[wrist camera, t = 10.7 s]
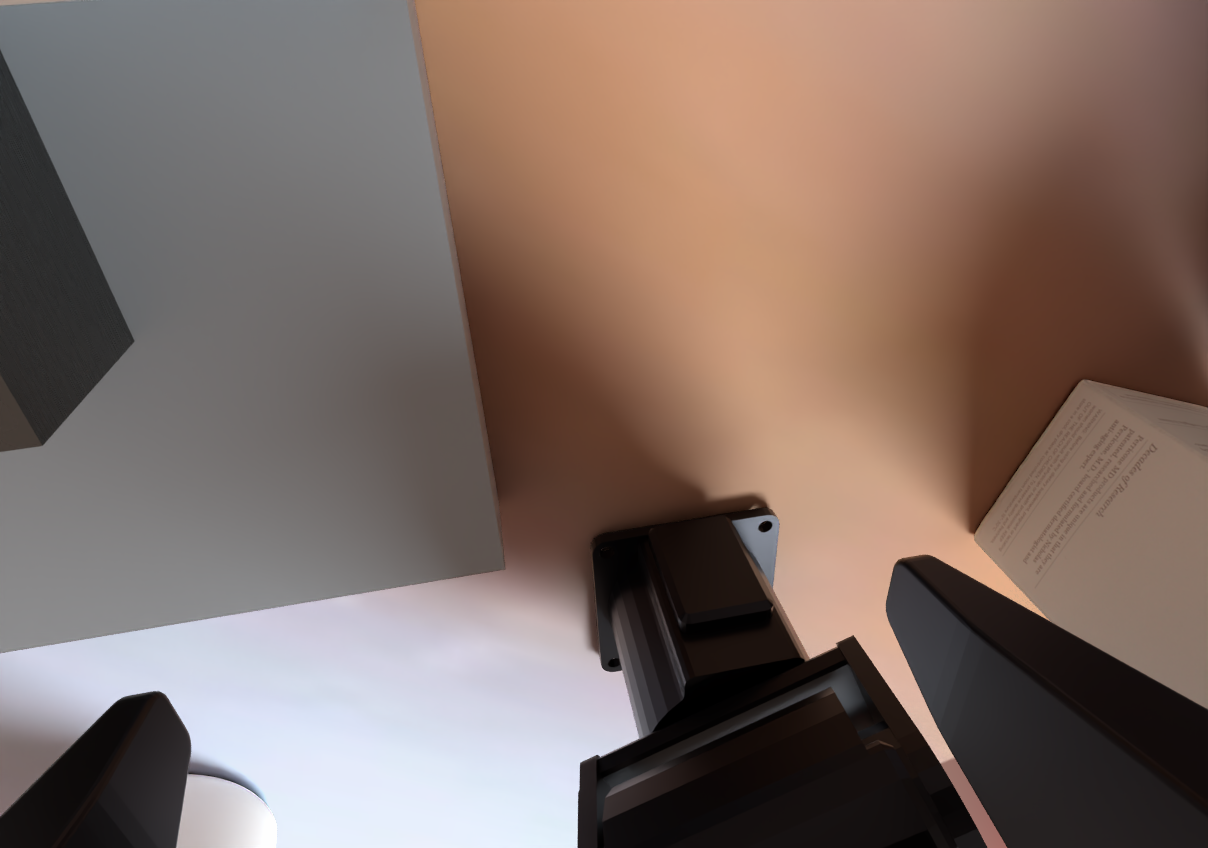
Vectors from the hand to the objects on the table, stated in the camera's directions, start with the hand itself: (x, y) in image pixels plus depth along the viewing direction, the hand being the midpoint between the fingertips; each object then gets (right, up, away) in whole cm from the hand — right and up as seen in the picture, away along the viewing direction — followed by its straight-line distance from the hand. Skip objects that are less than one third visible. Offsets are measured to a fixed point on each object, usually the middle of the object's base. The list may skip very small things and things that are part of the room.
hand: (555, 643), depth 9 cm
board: (-11, +6, +8) cm, 15 cm away
